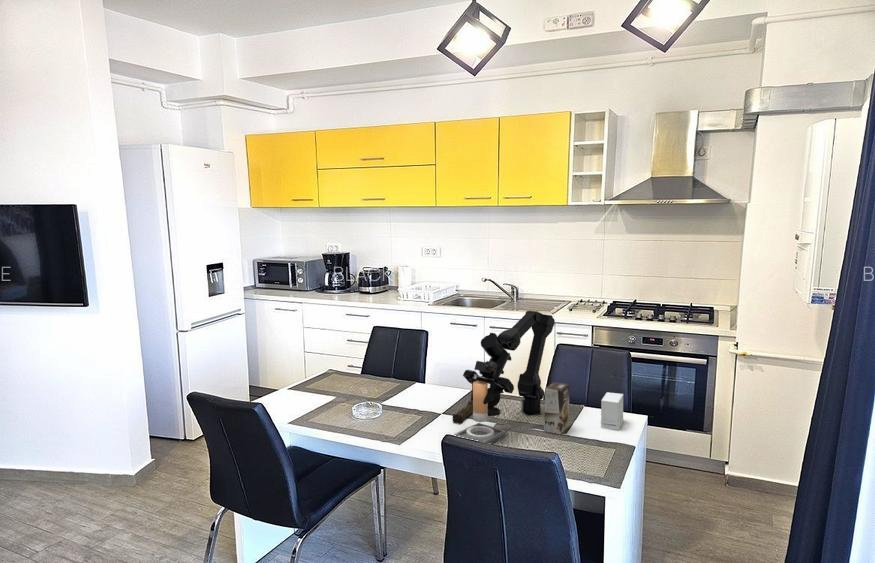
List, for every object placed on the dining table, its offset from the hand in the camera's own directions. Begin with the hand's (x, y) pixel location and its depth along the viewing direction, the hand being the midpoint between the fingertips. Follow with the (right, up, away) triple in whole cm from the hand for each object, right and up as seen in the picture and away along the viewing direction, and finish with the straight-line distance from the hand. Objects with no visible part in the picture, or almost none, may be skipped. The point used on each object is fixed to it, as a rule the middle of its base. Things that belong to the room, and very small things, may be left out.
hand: (477, 402), depth 194 cm
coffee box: (+29, -12, +10) cm, 33 cm away
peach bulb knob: (+1, -6, +2) cm, 7 cm away
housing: (+1, -13, +3) cm, 13 cm away
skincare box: (+50, -11, +14) cm, 54 cm away
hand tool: (-3, -11, +25) cm, 27 cm away
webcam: (+7, -10, +27) cm, 30 cm away
